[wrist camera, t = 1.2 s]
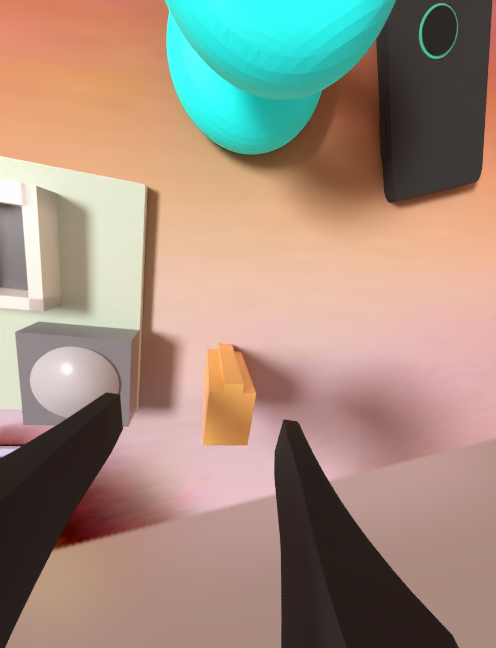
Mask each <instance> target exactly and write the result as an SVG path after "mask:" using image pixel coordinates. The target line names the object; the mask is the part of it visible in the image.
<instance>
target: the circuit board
mask: <svg viewBox="0 0 496 648" xmlns="http://www.w3.org/2000/svg"><path fill="white" fill-rule="evenodd" d="M0 179H3V180H9V181H14V182H20V183H25V184H31V185H36V186H39V187H42V188H44V189H47V190H50V191H52V192H55V193H57V211H58V234H59V258H60V281H61V305H59V306H57V307H54V308H51V309H49V310H46V311H44V312H43V311H32V310H22V309H11V308H0V409H22V402H21V391H20V380H19V370H18V359H17V348H16V337H15V332H16V331H18V330H20V329H23V328H25V327H27V326H29V325H32V324H34V323H36V322H38V321H40V322H51V323H63V324H75V325H86V326H98V327H110V328H121V329H133V330H140V333H139V359H138V384H137V408H136V410H135V412H137V410H138V407H139V385H140V361H141V337H142V313H143V289H144V265H145V241H146V217H147V193H148V187H147V186H146V185H145V184H141V183H136V182H131V181H125V180H120V179H115V178H110V177H105V176H100V175H94V174H89V173H84V172H79V171H74V170H69V169H64V168H58V167H53V166H48V165H43V164H38V163H33V162H28V161H22V160H17V159H12V158H7V157H2V156H0ZM0 203H1V204H7V205H12V204H8V203H3V202H0ZM14 206H16V205H14ZM20 207H21V206H20Z"/></svg>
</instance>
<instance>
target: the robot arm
mask: <svg viewBox="0 0 496 648" xmlns="http://www.w3.org/2000/svg"><path fill="white" fill-rule="evenodd" d="M122 430H123V423H122V410H121V398H120V394H114V393H108V392H106V393H104V394H103V395H101V396H100V397H98V398H97V399H95V400H94V401H92V402H91V403H89V404H88V405H86V406H85V407H83V408H82V409H80V410H79V411H77V412H76V413H74V414H73V415H71V416H70V417H68V418H67V419H65V420H64V421H62V422H61V423H59V424H58V425H56V426H55V427H53V428H51V429H50V430H48V431H46V432H45V433H43V434H41V435H40V436H38V437H36V438H35V439H33V440H31V441H30V442H28V443H27V444H25V445H23V446H0V648H5V646H6V644H7V642H8V640H9V638H10V635H11V633H12V631H13V629H14V627H15V625H16V623H17V621H18V618H19V616H20V614H21V612H22V610H23V608H24V606H25V604H26V602H27V600H28V598H29V596H30V594H31V592H32V590H33V587H34V585H35V583H36V581H37V579H38V578H39V576H40V573H41V571H42V570H43V568H44V566H45V564H46V562H47V560H48V558H49V556H50V554H51V552H52V550H53V548H54V546H55V545H56V543H57V541H58V539H59V537H60V535H61V533H62V531H63V530H64V528H65V526H66V524H67V522H68V520H69V519H70V517H71V515H72V514H73V512H74V510H75V509H76V507H77V505H78V504H79V502H80V501H81V499H82V498H83V496H84V494H85V493H86V491H87V490H88V488H89V487H90V485H91V484H92V482H93V480H94V479H95V477H96V476H97V474H98V473H99V471H100V470H101V468H102V466H103V465H104V463H105V462H106V460H107V459H108V457H109V455H110V454H111V452H112V450H113V448H114V446H115V444H116V442H117V440H118V438H119V436H120V434H121V432H122ZM274 477H275V488H276V499H277V510H278V519H279V531H280V545H281V590H282V591H281V593H282V595H281V597H282V598H281V600H282V601H281V606H282V607H281V609H282V628H281V630H282V632H281V633H282V634H281V636H282V638H281V648H459V647H458V645H457V643H456V641H455V639H454V637H453V635H452V634H451V633H450V632H449V631H448V630H447V629H446V628H445V627H444V626H443V625H442V624H441V623H440V622H439V620H438V619H437V618H436V617H435V616H434V615H433V614H432V613H431V612H430V611H429V610H428V609H427V608H426V607H425V606H424V604H423V603H422V602H421V601H420V600H419V599H418V598H417V597H416V596H415V595H414V594H413V593H412V592H411V591H410V589H409V588H408V587H407V586H406V585H405V583H404V582H403V581H402V580H401V579H400V578H399V577H398V576H397V574H396V573H395V572H394V571H393V570H392V568H391V567H390V566H389V565H388V563H387V562H386V561H385V560H384V558H383V557H382V556H381V555H380V553H379V552H378V551H377V550H376V548H375V547H374V546H373V545H372V543H371V542H370V541H369V540H368V538H367V537H366V536H365V534H364V533H363V532H362V530H361V529H360V528H359V526H358V525H357V523H356V522H355V521H354V519H353V518H352V516H351V515H350V514H349V512H348V511H347V509H346V508H345V507H344V505H343V503H342V502H341V500H340V499H339V497H338V495H337V494H336V493H335V491H334V489H333V487H332V486H331V484H330V482H329V481H328V479H327V477H326V476H325V474H324V472H323V470H322V469H321V467H320V465H319V463H318V461H317V459H316V458H315V456H314V454H313V452H312V450H311V448H310V446H309V444H308V442H307V440H306V438H305V436H304V433H303V431H302V429H301V427H300V425H299V423H298V422H297V421H290V420H283V424H282V427H281V431H280V434H279V438H278V442H277V445H276V449H275V466H274Z"/></svg>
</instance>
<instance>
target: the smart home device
mask: <svg viewBox="0 0 496 648" xmlns="http://www.w3.org/2000/svg"><path fill="white" fill-rule="evenodd" d="M491 14H492V0H396V1H395V4H394V6H393V8H392V10H391V12H390V14H389V16H388V18H387V20H386V22H385V24H384V26H383V28H382V30H381V32H380V33H379V35H378V37H377V38H376V41H377V61H378V81H379V100H380V120H381V121H380V132H381V152H382V159H383V179H384V193H385V197H386V199H387V201H388V202H394V201H398V200H402V199H408V198H412V197H416V196H420V195H424V194H428V193H433V192H437V191H441V190H445V189H449V188H453V187H458V186H462V185H466V184H470V183H473V182H477V181H478V179H479V177H480V175H481V171H482V162H483V146H484V129H485V113H486V96H487V80H488V63H489V47H490V30H491Z"/></svg>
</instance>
